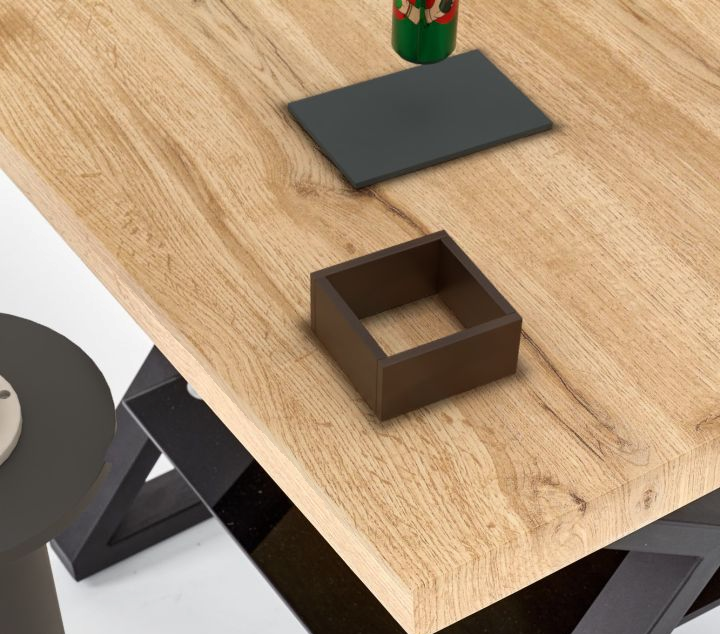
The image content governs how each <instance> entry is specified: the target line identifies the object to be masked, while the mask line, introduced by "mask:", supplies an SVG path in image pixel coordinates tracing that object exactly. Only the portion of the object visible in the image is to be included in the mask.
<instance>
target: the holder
mask: <svg viewBox="0 0 720 634" xmlns="http://www.w3.org/2000/svg"><path fill="white" fill-rule="evenodd" d="M309 282H310V283H309V289H310V291H309V293H310V295H309V300H310V303H309V304H310V305H309V306H310V329H311V330H312V332H313V333H314V334H315V336H316V337H317V339H318V340H319V341H320V342H321V344H322V345H323V346H324V348H325V349H326V350H327V352H328V353H329V354H330V356H331V357H332V358H333V360H334V361H335V363H336V364H337V365H338V366H339V368H340V369H341V371H342V372H343V373H344V374H345V375H346V377H347V379H348V380H349V382H350V383H351V384H352V385H353V386H354V387H355V389H356V391H357V392H359V394H360V395H361V398H363V400H364V401H365V402H366V403H367V406H369V408H370V410H372V412H373V413H374V415H376V416H377V418H378V419H379V421H380V422H382V423H383V422H385V421H388V420H391V419H394V418H396V417H398V416H401V415H404V414H407V413H410V412H413V411H415V410H419V409H420V408H423V407H427V406H429V405H431V404H434V403H437V402H440V401H443V400H446V399H449V398H450V397H451V398H452V397H454V396H456V395H459V394H462V393H465V392H467V391H471V390H473V389H476V388H479V387H481V386H484V385H486V384H489V383H493V382H495V381H498V380H501V379H503V378H506V377H509V376H511V375H514V374H516V373H517V371H518V370H517V369H518V362H519V353H520V344H521V337H522V328H523V320H524V319H523V317H522V316H521V315H520V313H519V312H518V311H517V309H515V308H514V306H513V305H512V304H511V303H510V302H509V300H508V299H507V298H506V297H505V296H504V295H503V293H501V292H500V291H499V289H498V287H496V286H495V285H494V284H493V282H492V281H491V280H490V279H489V277H487V276H486V274H485V273H484V272H483V271H482V270H481V269H480V268H479V266H478V265H477V264H475V262H474V261H473V260H472V259H471V257H470V256H469V255H468V254H467V253H466V252H465V251H464V250H463V248H461V246H459V244H458V243H457V242H456V240H454V239H453V237H452V236H450V234H449V233H448V232H447V230H445V229H441V230H437V231H434V232H431V233H428V234H425V235H423V236H419V237H417V238H414V239H410V240H406V241H404V242H401V243H397V244H395V245H392V246H389V247H386V248H381V249H379V250H377V251H376V250H375V251H373V252H370V253H367V254H363V255H361V256H358V257H355V258H351V259H349V260H346V261H343V262H342V261H341V262H339V263H337V264H334V265H331V266H327V267H324V268H322V269H318V270H314V271H312V272H310V273H309ZM434 294H437V296H438V297H439V298H440V299H441V300H442V302H443V303H444V304H445V305H446V306H447V307H448V309H449V310H450V311H451V312H452V313H453V314H454V315H455V317H456V318H457V319H458V321H460V323H461V324H462V325H463V326H464V328H465V329H463V330H460V331H458V332H455V333H452V334H449V335H446V336H443V337H441V338H437V339H435V340H431V341H429V342H426V343H424V344H420V345H418V346H415V347H412V348H409V349H406V350H403V351H400V352H397V353H395V354H391V355H388V354H387V353H386V352H385V350H383V348H382V347H381V345H380V344H379V343H378V342H377V341H376V339H375V338H374V337H373V336H372V334H371V333H370V332H369V331H368V328H367V327H366V326H365V325H364V324H363V322H362V321H361V320H360V319H364V318H367V317H369V316H372V315H375V314H378V313H381V312H385V311H387V310H390V309H393V308H396V307H399V306H402V305H405V304H409V303H411V302H414V301H417V300H420V299H422V298H425V297H428V296H432V295H434Z"/></svg>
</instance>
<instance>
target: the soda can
mask: <svg viewBox="0 0 720 634" xmlns="http://www.w3.org/2000/svg"><path fill="white" fill-rule="evenodd" d="M459 7H460V0H392V11H391V38H390V39H391V40H390V42H391V43H390V44H391V48H392V49H393V51H394V52H395V53H396V55H398V56H399V57H400V59H402V60H403V61H406V62H407V63H411V64H414V65H418V66H420V65H430V64H436V63H439V62H441V61H443V60H445V59H446V58H448V57H451V55H452V54H453V53H454V51H455V50H456V47H457V39H458V37H457V36H458V24H459V23H458V22H459Z"/></svg>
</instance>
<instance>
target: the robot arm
mask: <svg viewBox="0 0 720 634" xmlns="http://www.w3.org/2000/svg"><path fill="white" fill-rule="evenodd" d="M22 421H23V420H22V414H21V408H20V404H19V400H18V397H17V394H16V393H15V391H14V390H13V388H12V386H11V385H10V384H9V383H8V382H7V381H6V380H5V379H4V378H3V377H2V376H1V375H0V465H1V464H2V463H3V462H4V461H5V460H6V459H7V458H8V457H9V456H10V454H11V453H12V451H13V450H14V448H15V447H16V445H17V442H18V440H19V437H20V435H21V429H22Z"/></svg>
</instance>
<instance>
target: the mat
mask: <svg viewBox="0 0 720 634" xmlns="http://www.w3.org/2000/svg"><path fill="white" fill-rule="evenodd" d="M287 110H288V111H289V112H290V113H291V115H292V116H293V117H294V118H295V120H296V121H297V123H299V124H300V125H301V126H302V128H303V130H305V132H307V133H308V135H309V136H310V137H311V138H312V140H314V142H315V143H316V145H318V146H319V148H320V149H321V150H322V151H323V153H325V155H326V156H327V157H328V158H329V159H330V161H331V162H332V163H333V164H334V165H335V166H336V168H337V169H338V170H339V171H340V172H341V173H342V175H343V176H344V177H345V178H346V179H347V181H348V182H349V183H350V184H351V185H352V187H353V188H354V189H356V190H358V189H361V188H364V187H368V186H370V185H374V184H378V183H380V182H384V181H386V180H391V179H393V178H397V177H400V176H403V175H405V174H409V173H413V172H416V171H419V170H422V169H425V168H428V167H432V166H435V165H438V164H442V163H445V162H447V161H451V160H455V159H458V158H460V157H464V156H467V155H470V154H473V153H477V152H480V151H483V150H487V149H489V148H490V149H491V148H494V147H496V146H499V145H502V144H506V143H509V142H513V141H516V140H519V139H522V138H524V137H528V136H532V135H536V134H538V133H541V132H545V131H548V130H551V129H553V126H554V122H553V120H552V119H550V117H548V116H547V115H546V114H545V113H544V112H543V111H542V110H541V109H540V108H539V107H538V106H537V105H536V104H535V103H534V102H533V101H532V100H531V99H530V98H529V97H528V96H527V95H525V93H524V92H523V91H521V90H520V88H518V86H517V85H515V84H514V83H513V81H511V80H510V78H508V77H507V76H506V75H505V74H504V73H503V72H502V71H501V69H499V68H498V67H497V66H496V65H495V64H494V63H493V62H492V61H491V60H490V59H489V58H488V57H486V55H485V54H484V53H483V52H482V51H481V50H479V49H478V48H476V49H471V50H468V51H466V52H461V53H458V54H454V55H452V56H451V55H450V56H449V57H447V58H446V59H445V60H443V61H441V62H439V63H436V64H430V65H417V66H416V65H415V66H413V67H410V68H407V69H406V68H405V69H403V70H399V71H396V72H392V73H389V74H388V73H387V74H385V75H381V76H378V77H375V78H374V77H373V78H371V79H368V80H363V81H361V82H360V81H359V82H358V83H354V84H350V85H346V86H343V87H340V88H337V89H333V90H329V91H326V92H322V93H319V94H315V95H312V96H308V97H305V98H301V99H298V100H293V101H290V102H288V103H287Z"/></svg>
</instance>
